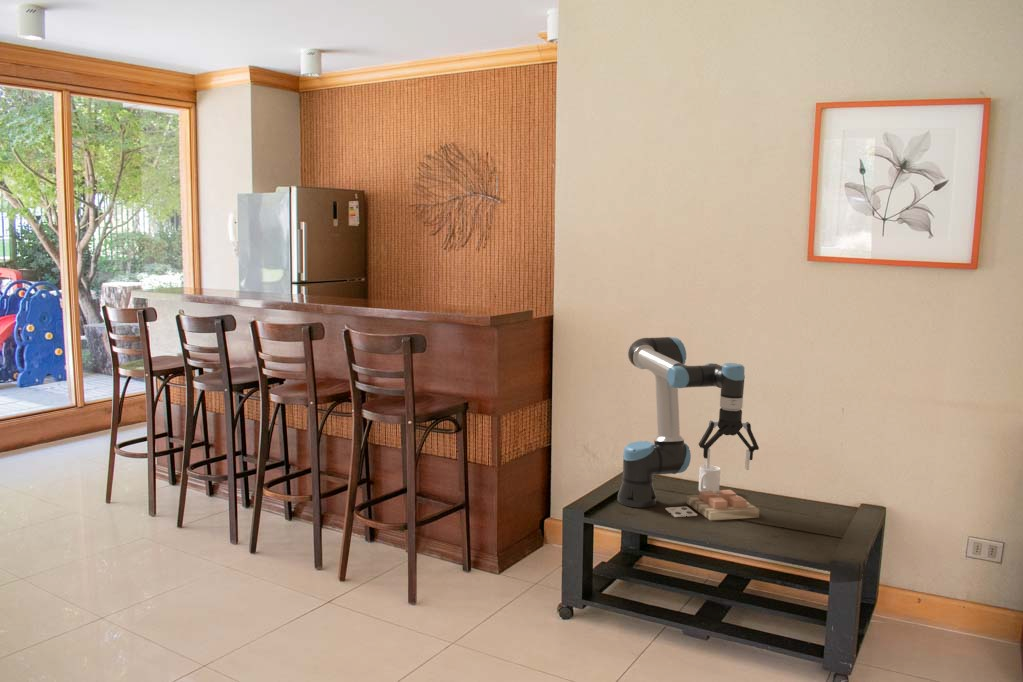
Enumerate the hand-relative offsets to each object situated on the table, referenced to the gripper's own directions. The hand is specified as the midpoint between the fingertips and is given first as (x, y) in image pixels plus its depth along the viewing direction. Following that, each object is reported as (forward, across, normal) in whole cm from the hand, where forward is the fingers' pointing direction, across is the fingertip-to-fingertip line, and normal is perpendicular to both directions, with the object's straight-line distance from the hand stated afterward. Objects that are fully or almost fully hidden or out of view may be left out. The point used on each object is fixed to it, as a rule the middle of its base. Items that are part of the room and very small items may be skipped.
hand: (727, 468), depth 287 cm
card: (+25, -11, +22) cm, 35 cm away
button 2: (+22, +2, +22) cm, 32 cm away
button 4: (+22, +10, +24) cm, 35 cm away
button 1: (+23, 0, +30) cm, 37 cm away
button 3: (+23, +8, +32) cm, 40 cm away
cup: (+25, +3, +48) cm, 54 cm away
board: (+25, +5, +27) cm, 37 cm away
